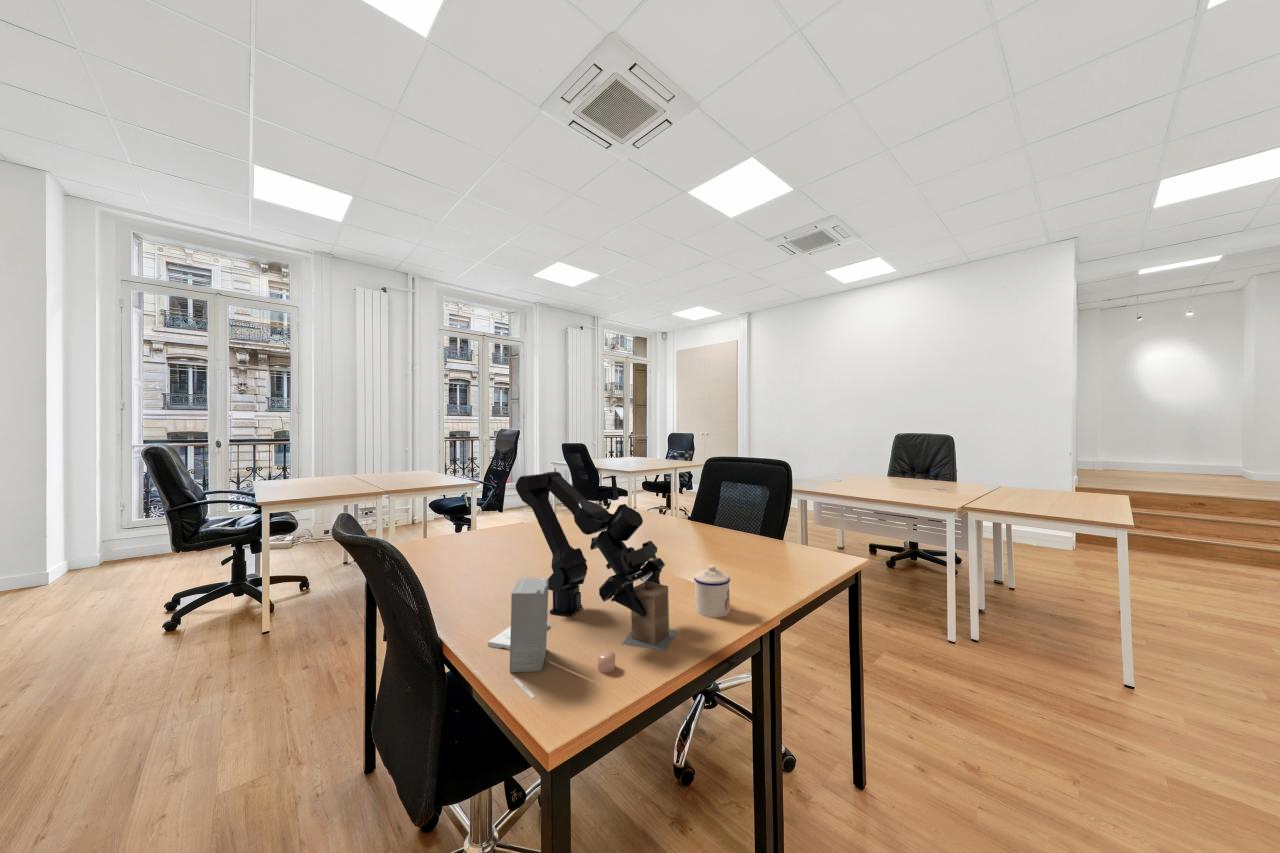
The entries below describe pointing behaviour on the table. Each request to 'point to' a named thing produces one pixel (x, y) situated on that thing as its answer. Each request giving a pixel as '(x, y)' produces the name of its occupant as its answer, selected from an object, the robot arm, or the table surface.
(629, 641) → the rubber coaster
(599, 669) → the pink small cylinder
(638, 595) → the brown box
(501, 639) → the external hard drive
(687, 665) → the table surface
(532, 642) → the skincare box
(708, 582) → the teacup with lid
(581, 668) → the table surface
